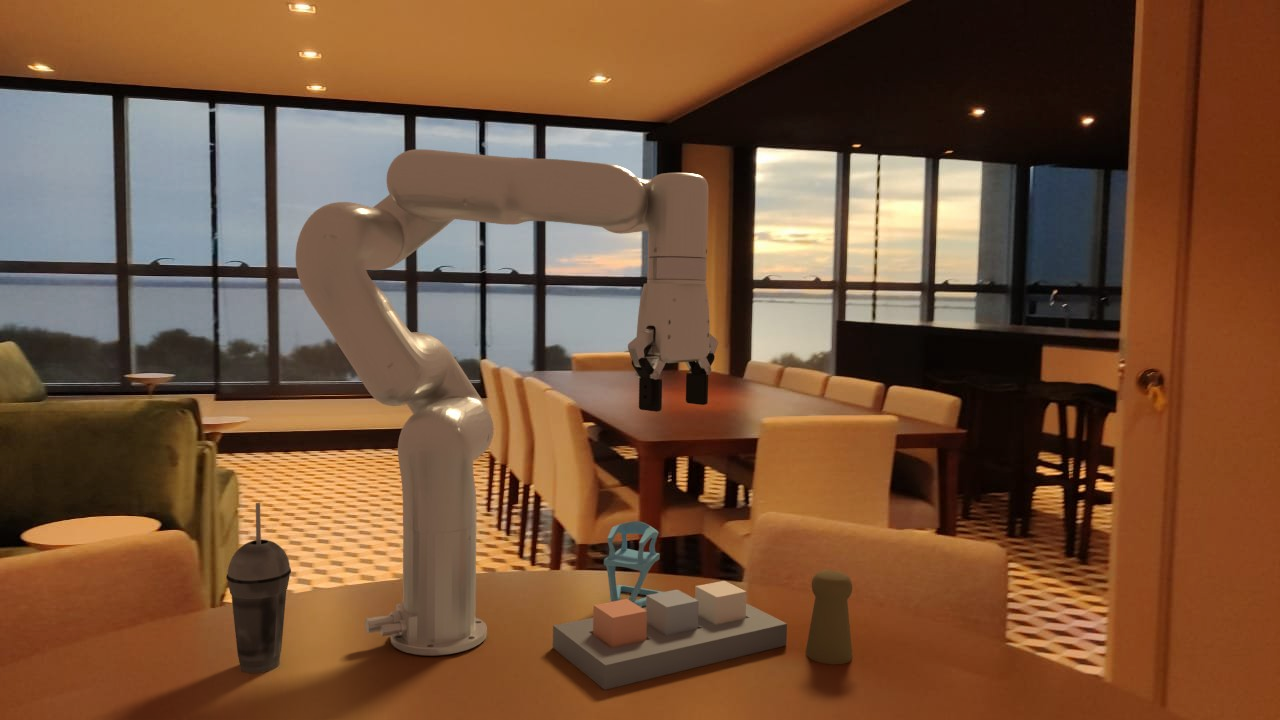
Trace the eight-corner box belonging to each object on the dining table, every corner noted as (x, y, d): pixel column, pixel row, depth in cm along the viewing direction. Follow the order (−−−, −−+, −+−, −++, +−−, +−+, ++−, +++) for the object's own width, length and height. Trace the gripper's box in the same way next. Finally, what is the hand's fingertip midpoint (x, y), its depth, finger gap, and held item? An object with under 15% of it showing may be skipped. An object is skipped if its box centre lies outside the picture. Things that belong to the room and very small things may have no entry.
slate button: (665, 637, 113) (666, 607, 113) (645, 624, 117) (646, 595, 117) (697, 630, 115) (698, 600, 115) (676, 618, 120) (677, 589, 119)
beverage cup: (228, 682, 103) (226, 515, 101) (225, 659, 109) (224, 501, 108) (294, 671, 106) (294, 509, 104) (288, 649, 112) (287, 496, 111)
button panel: (604, 689, 103) (605, 665, 103) (552, 647, 115) (553, 625, 115) (786, 645, 118) (787, 623, 118) (723, 611, 130) (724, 592, 129)
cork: (853, 666, 112) (857, 582, 111) (805, 661, 113) (808, 578, 112) (851, 648, 117) (855, 567, 117) (805, 643, 119) (809, 564, 118)
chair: (596, 607, 131) (597, 528, 130) (619, 589, 138) (620, 515, 137) (644, 615, 128) (645, 535, 127) (664, 597, 135) (666, 521, 134)
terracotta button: (612, 649, 109) (612, 617, 108) (592, 635, 113) (593, 605, 113) (646, 641, 111) (647, 611, 111) (626, 628, 115) (627, 598, 115)
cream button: (716, 626, 117) (716, 597, 117) (694, 614, 121) (695, 586, 121) (745, 619, 120) (746, 591, 119) (723, 608, 124) (724, 580, 124)
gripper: (693, 275, 120) (690, 399, 121) (609, 270, 107) (607, 410, 108) (739, 275, 115) (736, 404, 116) (657, 270, 102) (654, 416, 103)
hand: (674, 407), depth 112 cm, fingers open, 9 cm apart
